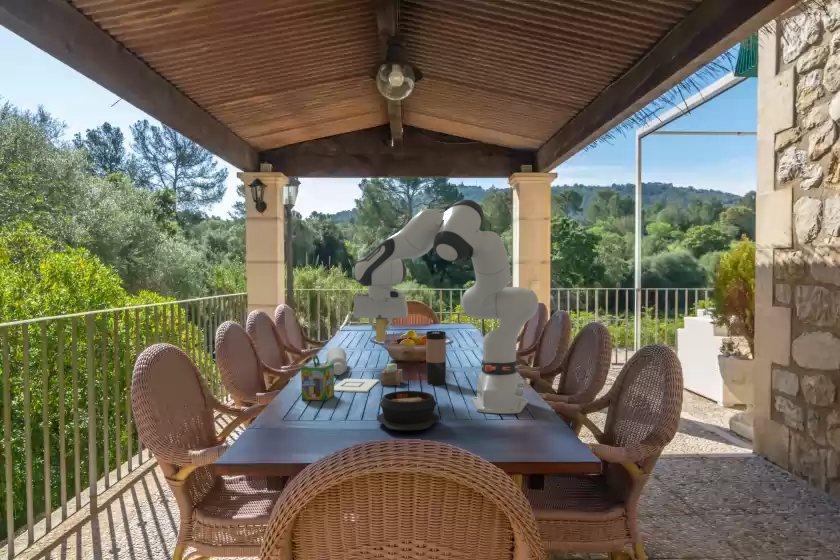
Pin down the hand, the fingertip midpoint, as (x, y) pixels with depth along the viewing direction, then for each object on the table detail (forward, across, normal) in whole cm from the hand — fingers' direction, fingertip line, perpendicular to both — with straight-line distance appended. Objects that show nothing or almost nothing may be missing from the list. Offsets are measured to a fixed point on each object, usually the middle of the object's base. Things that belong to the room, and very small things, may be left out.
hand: (380, 330), depth 221 cm
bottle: (+22, -28, +32) cm, 48 cm away
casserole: (+23, +18, -43) cm, 52 cm away
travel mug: (+22, +19, +14) cm, 32 cm away
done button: (+21, +2, +11) cm, 23 cm away
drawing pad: (+22, -11, +4) cm, 25 cm away
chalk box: (+22, -19, -16) cm, 33 cm away
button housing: (+22, +2, +11) cm, 25 cm away
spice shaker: (+4, 0, 0) cm, 4 cm away
